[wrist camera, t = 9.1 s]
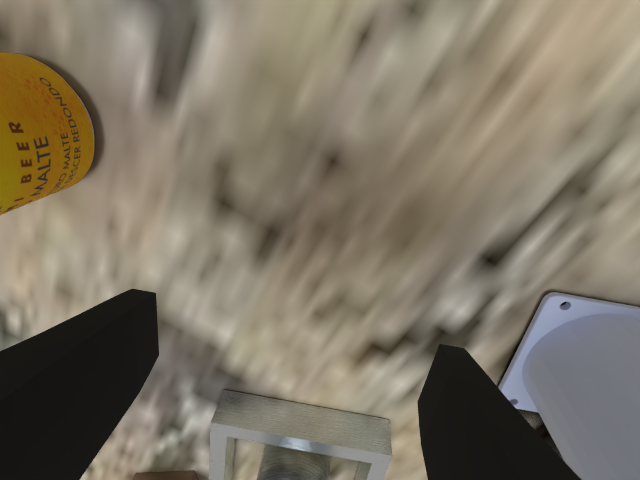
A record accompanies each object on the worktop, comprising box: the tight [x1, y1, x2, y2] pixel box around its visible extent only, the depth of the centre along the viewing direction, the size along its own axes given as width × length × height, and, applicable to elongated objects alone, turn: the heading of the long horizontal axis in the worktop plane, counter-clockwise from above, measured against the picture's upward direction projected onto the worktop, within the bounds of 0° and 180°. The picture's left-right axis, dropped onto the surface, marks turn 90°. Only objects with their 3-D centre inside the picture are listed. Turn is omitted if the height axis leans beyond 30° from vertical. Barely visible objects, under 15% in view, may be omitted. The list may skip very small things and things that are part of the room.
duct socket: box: [209, 389, 392, 480], centre depth 25 cm, size 11×12×2 cm
